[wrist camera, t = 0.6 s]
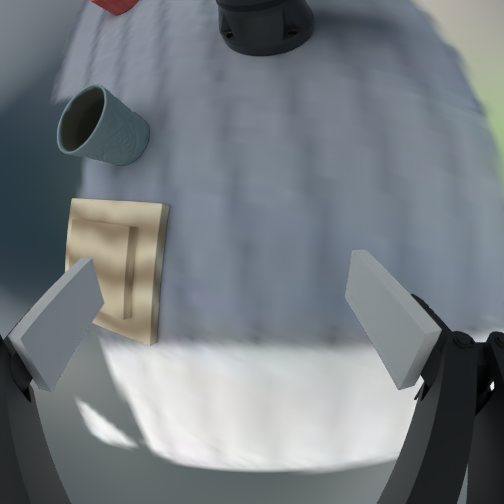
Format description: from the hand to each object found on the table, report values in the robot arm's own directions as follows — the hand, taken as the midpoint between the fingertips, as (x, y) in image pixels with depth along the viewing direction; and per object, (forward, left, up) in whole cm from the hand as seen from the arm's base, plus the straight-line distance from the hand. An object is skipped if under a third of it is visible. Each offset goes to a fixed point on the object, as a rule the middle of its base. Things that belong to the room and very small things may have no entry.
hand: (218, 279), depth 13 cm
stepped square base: (+5, -26, -21) cm, 34 cm away
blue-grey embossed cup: (-15, -26, -21) cm, 37 cm away
